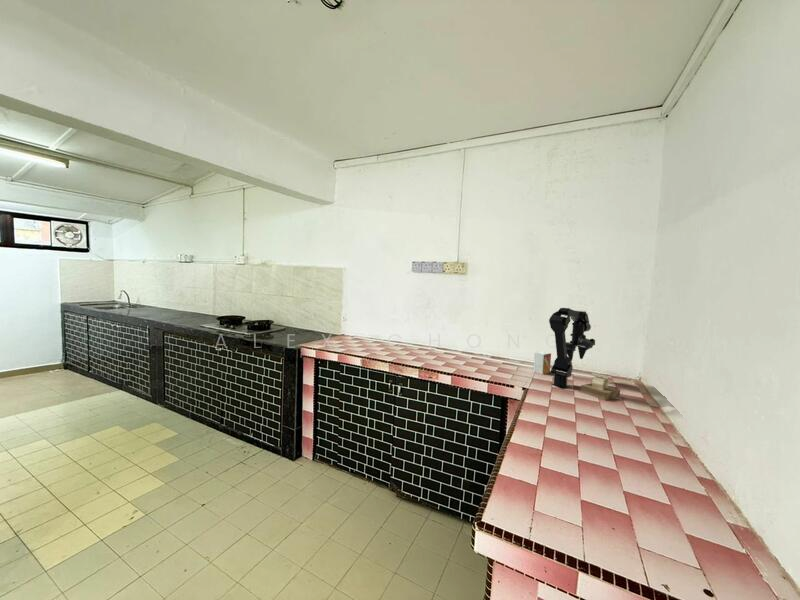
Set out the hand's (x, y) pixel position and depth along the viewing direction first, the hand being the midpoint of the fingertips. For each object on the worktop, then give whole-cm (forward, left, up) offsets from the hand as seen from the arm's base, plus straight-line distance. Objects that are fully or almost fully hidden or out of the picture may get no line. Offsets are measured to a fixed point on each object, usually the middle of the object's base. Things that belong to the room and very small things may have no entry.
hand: (576, 359), depth 175 cm
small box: (-8, +16, -12) cm, 22 cm away
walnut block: (-10, -20, -12) cm, 26 cm away
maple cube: (-10, -20, -8) cm, 24 cm away
